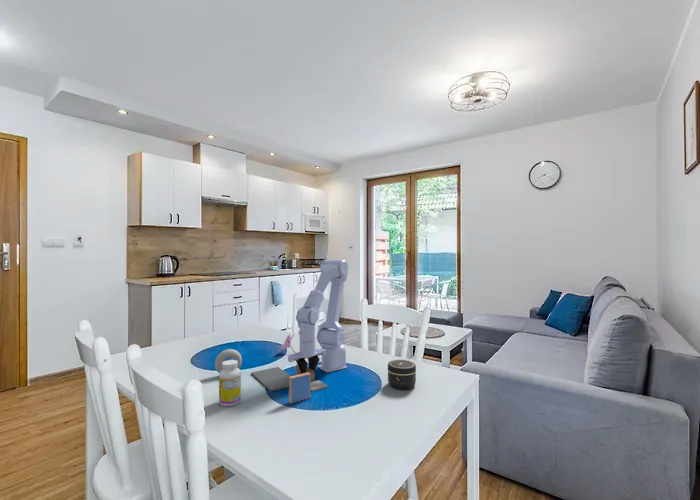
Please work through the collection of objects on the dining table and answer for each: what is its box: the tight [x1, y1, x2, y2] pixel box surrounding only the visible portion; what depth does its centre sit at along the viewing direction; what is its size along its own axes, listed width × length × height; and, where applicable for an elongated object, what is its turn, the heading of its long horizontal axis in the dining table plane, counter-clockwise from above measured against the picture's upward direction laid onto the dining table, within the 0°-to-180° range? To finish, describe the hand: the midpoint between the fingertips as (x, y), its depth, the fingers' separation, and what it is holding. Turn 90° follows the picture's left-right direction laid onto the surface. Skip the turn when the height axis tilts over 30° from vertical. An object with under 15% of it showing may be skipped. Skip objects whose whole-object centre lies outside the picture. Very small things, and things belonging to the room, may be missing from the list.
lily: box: [275, 333, 296, 355], centre depth 159 cm, size 12×12×10 cm
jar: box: [387, 359, 417, 391], centre depth 123 cm, size 10×10×8 cm
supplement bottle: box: [218, 359, 242, 407], centre depth 110 cm, size 7×7×13 cm
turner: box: [295, 363, 328, 393], centre depth 125 cm, size 16×6×4 cm, turn 35°
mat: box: [251, 366, 291, 392], centre depth 129 cm, size 11×20×1 cm, turn 34°
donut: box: [214, 348, 243, 374], centre depth 133 cm, size 10×4×10 cm, turn 119°
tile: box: [288, 372, 312, 404], centre depth 111 cm, size 7×2×8 cm, turn 125°
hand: (307, 377), depth 126 cm, fingers closed on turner, 2 cm apart
